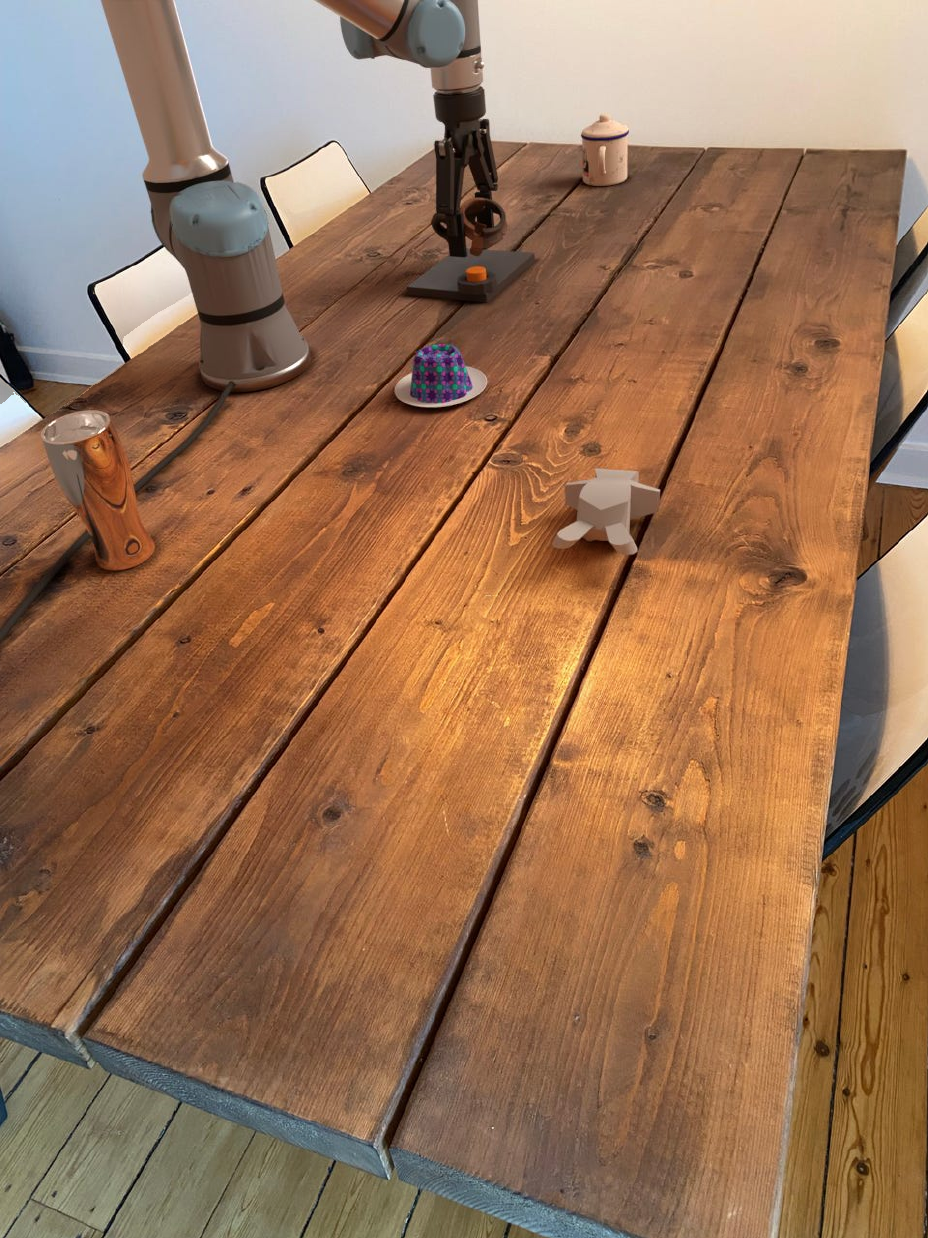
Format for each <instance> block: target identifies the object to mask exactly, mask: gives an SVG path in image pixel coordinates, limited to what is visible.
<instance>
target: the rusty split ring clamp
mask: <svg viewBox="0 0 928 1238" xmlns="http://www.w3.org/2000/svg"><path fill="white" fill-rule="evenodd" d="M485 206H486V207H488V208H490V209H491V210H492V212H493V214H494V215H495V214H496V215H498V216H499V222H498V223H497V224H496V225H494V227H492V228H487V229H486V225H485V224H481V223H479V222H477V220H476V219H477V214H478V212H480V211H482V210H483V209H484V208H485ZM459 213H463V218H464V228H465V238H468V239H469V240H470V241H471V245H470V247H469V248H470V254H471V255H474V256H477V257H478V256H480V254H481V253H482V251H483V249H484V250H486V249H487V250H489V249H490V248H492V247H493V246H495V245H497V244H499V243H500V242H501V241H503V239H504V236H506V234H507V230H508V226H509V225H508V222H507V220H506V219H507V216H506V212H505V210H504V208H503V207H502V205H500V204H499V203H498V202H496V201H495V200H493V199H492V200H490V199H485V198H475V197H473V198H469V199H467V200H465V201H464V202H463V203H462V204H460V212H459ZM442 224H444V225H446V217H445V215H444V214H437V212H436V211H435V213H434V214H433V215H432V219H430V225H431V227H432V229H433V231H434V232H435V233H436V235H438V236H439V237H440V238H442V239H444V240H445V241H446V242H447V243H448V235H447V227H445V226H444V225H442Z"/></svg>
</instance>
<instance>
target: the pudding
mask: <svg viewBox="0 0 928 1238" xmlns="http://www.w3.org/2000/svg"><path fill="white" fill-rule="evenodd" d="M411 371H412V372H410V373H408V374H406V375H405V376H404V377H402V378H401V379H400V380H398V382H397V383H396V385H395V387H394V394H395V396H396V399H398V400H399V401H400V402H403V403H405V404H406V405H411V406H414V407H420V408H442V407H450V406H453V405H457V404H462V403H464V402H467V401H469V400H471V399H473V398H475V397H477V396H478V395H480V394H481V393H483V391H484V390H485V389H486V387H487V385H488V378H487V375H486V374H485V373H484V372H482V371H481V370H479V369H477V368H475V367H471V366H468V365H466V364H465V361H464V358H463V355H462V353H461V352H460V350H459V348H458V347H456V346H455V345H452V344H447V343H437V344H429V345H426V346H425V347H424V348H420V349H419V350H417V351H416V352H415V355H414V357H413V362H412V369H411Z"/></svg>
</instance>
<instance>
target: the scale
mask: <svg viewBox="0 0 928 1238" xmlns="http://www.w3.org/2000/svg"><path fill="white" fill-rule="evenodd" d="M470 248H471V247H466V249H467V256H466V257H451V256H450V254H448V255H447V256H446V257H444V258H443V259H441V260H440V261H438V262H437V263H436V264H434V265H433V266H432V267H430V268H429V269H428V270H427V271H425V272H424V273H422V274H421V275H420V276H418V277H417V278H416V279H415V280H413V281H412V282H411V283H409V284H408V285H407V286H406V294H407V296H412V297H413V296H414V297H423V298H435V299H445V300H457V301H465V302H477V303H485V304H486V303H488V302H490V301H491V300H492V299H493V298H495V297H496V296H497V295H498V294H499V293H500V292H501V291H502V290H504V288H506V287H507V286H509V284H510V283H512V282H513V281H514V280H515V279H516V278H517V277H518V276H519V275H520V274H521V273H523V272H524V271H525V270H526V269H527V268H529V267H530V266H531V265H532V264H533V263H534V262H535V260H536V257H535V252H529V251H515V250H501V249H486V250H484V249H483V251H482V253H481V254H480V256H478V257H477V256H474V255H471V254H470ZM475 266H482V267H485V268H486V278H487V279H486V280H483V281H479V282H468V281H467V276H466V270H467V269H468V268H470V267H475Z"/></svg>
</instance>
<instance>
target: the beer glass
mask: <svg viewBox="0 0 928 1238" xmlns="http://www.w3.org/2000/svg"><path fill="white" fill-rule="evenodd" d="M40 440H41V441H42V444H43V446H44V449H45V453H46V456H47V459H48V462H49V465H50V468H51V470H52V473H53V476H54V477H55V479H56V482H57V484H58V486H59V488H60V489H61V491H62V493H63V495H64V496H65V498H66V500H67V502H68V503H69V504H70V505H71V507H72V509H73V510H74V512H75V513H76V515H77V516H78V517H79V519H80V520H81V522H82V524H83V525H84V527H85V528H86V530H88V532H89V534H90V539H91V542H92V547H93V551H94V552H93V553H94V557H95V562H96V563H97V565H98V566H99V567H100V568H101V569H104V570H107V571H113V572H114V571H124V570H128V569H132V568H135V567H137V566H139V565H141V564H143V563H144V562H146V561H147V560H148V559H149V558H150V557H151V556H152V555H153V553H154V552H155V549H156V545H155V542H154V540H153V538H152V537H151V536H150V533H149V532H148V531H147V529H146V527H145V526H144V525H145V524H143V523H144V522H142V519H141V515H140V512H139V507H138V503H137V495H136V493H135V489H134V484H135V483H134V478H133V473H132V469H131V464H130V461H129V458H128V456H127V453H126V450H125V448H124V445H123V443H122V440H121V439H120V436H119V434H118V432H117V430H116V428H115V426H114V424H113V422H112V419H111V416H110V415H109V414H108V413H106V412H104V411H101V410H96V409H95V410H93V409H92V410H89V409H88V410H81V411H75V412H71V413H67V414H65V415H62V416H60V417H57V418H55V419H54V420H52V421H50V422H48V423H47V424H46V425H45V426H44V427H43V428H42V430H41V431H40Z"/></svg>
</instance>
